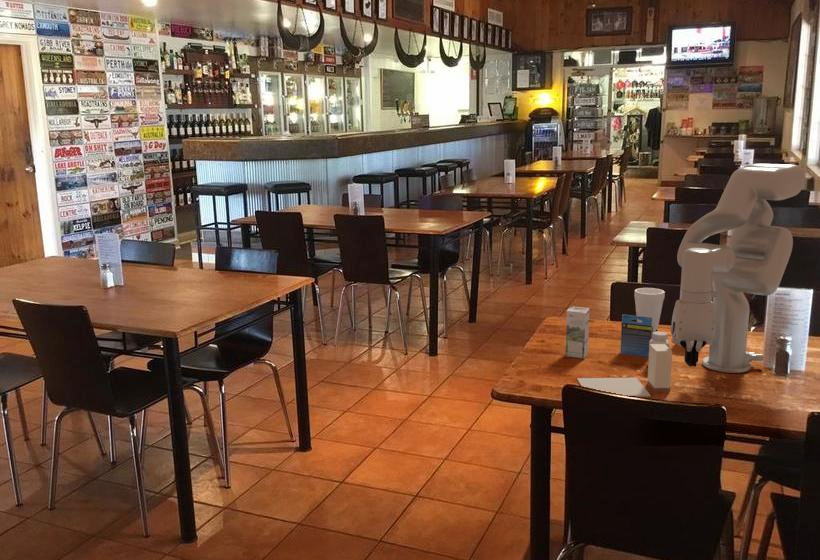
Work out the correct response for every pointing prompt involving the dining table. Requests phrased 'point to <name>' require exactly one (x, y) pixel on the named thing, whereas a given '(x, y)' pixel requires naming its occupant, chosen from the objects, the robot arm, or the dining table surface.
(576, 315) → the syrup box
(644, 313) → the foam cup
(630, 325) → the label tape box
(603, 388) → the felt mat
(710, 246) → the robot arm
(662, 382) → the tall block
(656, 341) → the pill bottle
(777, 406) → the dining table surface
